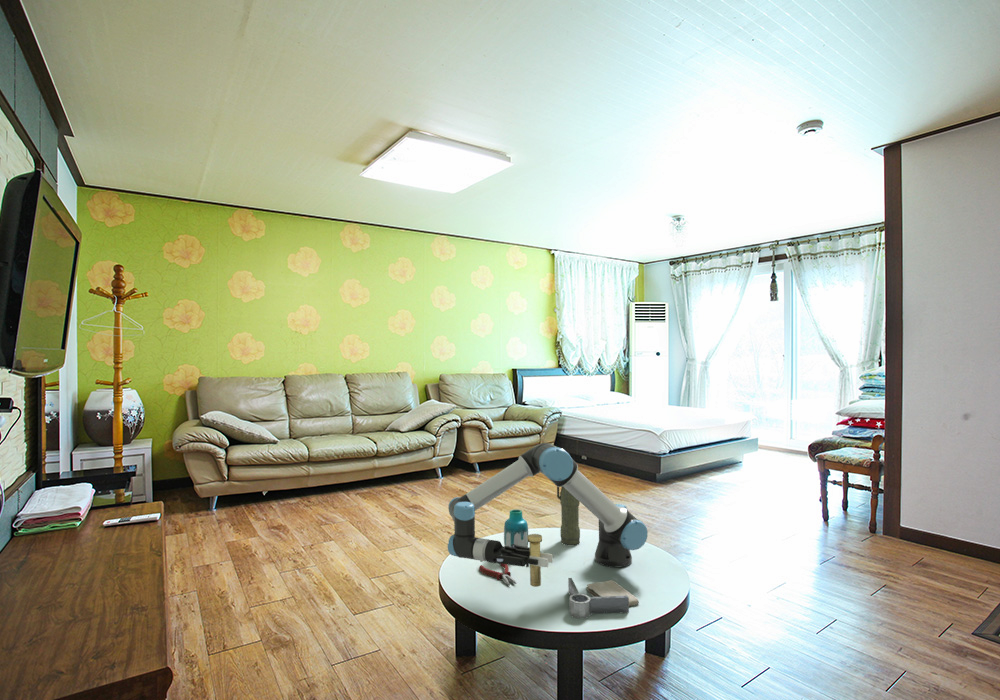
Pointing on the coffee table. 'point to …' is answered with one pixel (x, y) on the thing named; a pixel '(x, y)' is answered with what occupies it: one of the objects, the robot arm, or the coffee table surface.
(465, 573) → the coffee table surface
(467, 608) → the coffee table surface
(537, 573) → the hinge pin
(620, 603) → the hinge
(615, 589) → the washcloth
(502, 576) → the pliers
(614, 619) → the coffee table surface
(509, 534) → the vase
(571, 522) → the thermos
